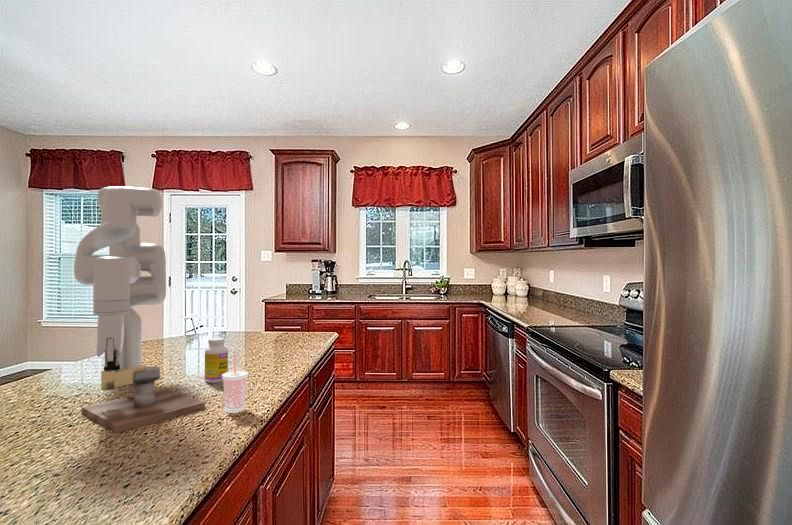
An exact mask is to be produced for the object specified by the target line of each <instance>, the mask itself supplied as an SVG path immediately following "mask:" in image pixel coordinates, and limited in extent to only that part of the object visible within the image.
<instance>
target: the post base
mask: <svg viewBox="0 0 792 525" xmlns="http://www.w3.org/2000/svg"><path fill="white" fill-rule="evenodd" d="M205 403H206V402H204V401H202V400H199V399H198V398H197V399H196V398H194V397H191V396H188V395H186V394H183V393H180V392H177V391H175V390H173V389H172V390H171V389H169V388H167V387H164V388H160V389H156V390H155V381H153V382H148V383H133V395H129V394H128V395H126V396H125V397H121V398H116V399H112V400H108V401H106V400H105V401H103V402H99V403H98V402H97V403H95V404H89V405H85V406H84V405H83V406H81V414H82V415H84V416H85V417H87V418H89V419H91V420H93V421H94V422H96V423H98V424H100V425H101V426H104V427H106V428H107V429H109V430H111V431H113V432H114V433H116V434H118V432H119V433H121V432H125V431H129V430H132V429H136V428H140V427H143V426H146V425H149V424H154V423H157V422H160V420H161V421H164V420H168V419H171V418H174V417H179V416H182V415H185V414H188V413H189V414H190V413H192V412H195V411H199V410H203V409H206V408H205Z"/></svg>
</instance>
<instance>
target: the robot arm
mask: <svg viewBox="0 0 792 525" xmlns="http://www.w3.org/2000/svg"><path fill="white" fill-rule="evenodd" d="M97 201H98V202H97V203H98V206H99V208H100V212H101V216H100V225H99V226H96V227H95V228H93V229H92V230H90V231H89V232H88V233H87V234H86V235H84V236H83V237H82V239H81V240H80V241H79V243H78V245H77V248H76V252H75V259H74V266H73V273H74V279H75V280H76V281H77V282H78V283H79V284H81V285H85V286H93V287H92V289H93V295H92V296H93V297H92V298H93V302H92V304H93V309H92V310H93V313H92V314H93V315H94V316H95V315H96V316H97V327H96V328H97V329H96V330H97V332H96V356H97V357H101V356H102V355H103V356H104V367H103V371H105V370H120V369H125V368H130V367H134V366H139V365H142V318H141V316H140V314H139V313H138V312H137V311H136V310H135V309H134V308H133V307H135V306H151V305H153V306H156V305H161V304H163V302H165V300H166V296H167V266H166V264H167V263H166V262H167V260H166V251H165V249H164V247H163V246H162V245H161V244H159V243H152V242H150V243H149V242H141V233H140V232H141V228H140V226H139V225H138V223H137V217H151V218H152V217H153V218H155V217H156V218H157V217H159V215H160V213H161V211H162V207H163V200H162V196H161V193H160V191H159V190H158V189H155V188H150V187H135V186H122V185H121V186H119V185H118V186H107V187H106V186H105V187H102V188H100V189H99V190H98V191H97ZM104 248H108V252H109V254H108V255H99V254H97V255H94V254H95V253H96V252H98V251H99V250H102V249H104ZM141 273H149V274H150V275H141Z"/></svg>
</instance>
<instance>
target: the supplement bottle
mask: <svg viewBox="0 0 792 525" xmlns="http://www.w3.org/2000/svg"><path fill="white" fill-rule="evenodd" d="M207 342H208V346H207V347H206V348H205V350H204V381H205V383H210V384H217V383H223V379H222V374H223V373H226V372H229V361H228V360H229V359H228V358H229V349H228V347H227V346H226V345H225V342H226V338H224V337H212V338H209V339H208V341H207Z"/></svg>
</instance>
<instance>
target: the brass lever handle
mask: <svg viewBox="0 0 792 525" xmlns="http://www.w3.org/2000/svg"><path fill="white" fill-rule="evenodd" d="M100 379H101V380H100V381H101V382H100V385H101V387H100V390H101V391H111V390H114V389H115V388H119V387H121V386H126V385H132V384H134V383H148V382H153V381H154V382H156V381H158V380H160V379H161V368H160V367H159V366H147V365H144V364H141V365H139V366H134V367H130V368H125V369H120V370H105V371H104V370H103V371H101V372H100Z"/></svg>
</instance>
